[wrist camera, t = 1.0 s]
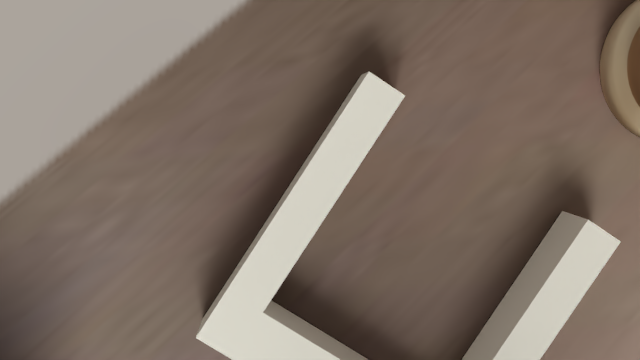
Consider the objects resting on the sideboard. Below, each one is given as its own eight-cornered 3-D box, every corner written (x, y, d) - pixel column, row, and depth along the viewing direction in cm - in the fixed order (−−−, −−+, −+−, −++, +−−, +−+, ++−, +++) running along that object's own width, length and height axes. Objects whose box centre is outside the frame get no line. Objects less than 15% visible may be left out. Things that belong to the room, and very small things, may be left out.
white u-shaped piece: (592, 231, 24) (620, 241, 22) (436, 458, 25) (451, 489, 23) (360, 75, 23) (368, 71, 21) (202, 318, 23) (195, 337, 21)
